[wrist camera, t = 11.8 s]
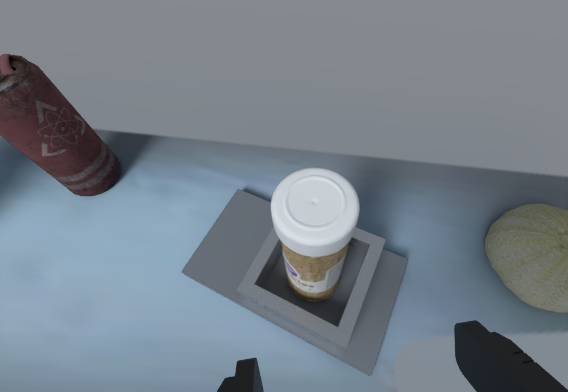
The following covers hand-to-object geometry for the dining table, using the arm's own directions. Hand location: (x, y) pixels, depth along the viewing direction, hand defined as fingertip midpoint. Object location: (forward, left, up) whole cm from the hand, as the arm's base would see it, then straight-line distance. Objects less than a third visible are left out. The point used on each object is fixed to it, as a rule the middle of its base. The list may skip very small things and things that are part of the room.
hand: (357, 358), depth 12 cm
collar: (+6, +4, -13) cm, 15 cm away
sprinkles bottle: (+6, +4, -13) cm, 15 cm away
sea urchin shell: (+16, -13, -14) cm, 25 cm away
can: (+6, +32, -14) cm, 36 cm away
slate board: (+6, +6, -14) cm, 16 cm away
